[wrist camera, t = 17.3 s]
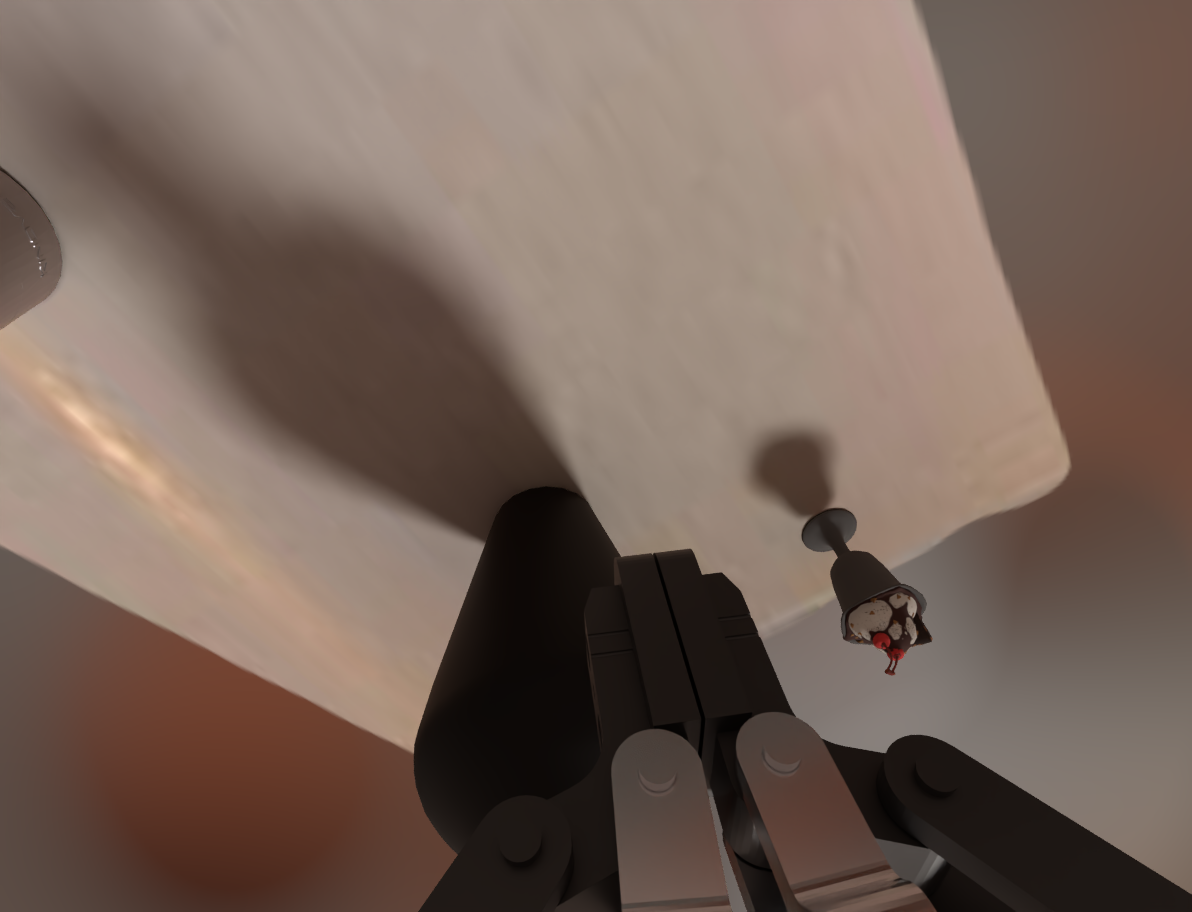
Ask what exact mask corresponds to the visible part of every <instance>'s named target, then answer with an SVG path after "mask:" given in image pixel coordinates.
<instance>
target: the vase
mask: <svg viewBox="0 0 1192 912" xmlns="http://www.w3.org/2000/svg"><path fill="white" fill-rule="evenodd" d="M616 557H621V556H620V554H619V553H618V551H617V549H616V548H615V546H614V545H613V543H612V541H611V540H610V538H609V536H608V535H607V533H606V532H605V530H604V528H603V527H602V525H601V523H600V522H599V520H598V519H597V517H596V515H595V514H594V512H593V510H592V509H591V507H590V505H589V504H588V502H587V501H585V500H584V499H583V498H582V497H580V496H579V495H578V494H576V493H574V492H571V491H568V490H566V489H563V488H555V487H540V488H534V489H529V490H526V491H524V492H522V493H519V494H517V495H515V496H513V497H512V498H511V499H510V500H508V501H507V502H506V503H505V504H504V505H503V506H502V507H501V509H500V510H499V512H498V514H497V515H496V517H495V520H494V522H493V525H492V528H491V530H490V533H489V536H488V538H487V541H486V544H485V547H484V549H483V552H482V555H481V557H480V560H479V563H478V565H477V568H476V571H475V573H474V576H473V579H472V581H471V584H470V587H469V589H468V592H467V595H466V597H465V600H464V603H463V605H462V608H461V611H460V614H459V616H458V619H457V622H456V624H455V627H454V630H453V632H452V635H451V638H450V640H449V643H448V646H447V648H446V651H445V654H444V656H443V659H442V662H441V665H440V667H439V670H438V673H437V675H436V678H435V681H434V683H433V686H432V689H431V692H430V695H429V698H428V702H427V705H426V708H425V711H424V714H423V717H422V720H421V723H420V726H419V729H418V733H417V737H416V741H415V744H414V776H415V783H416V788H417V791H418V794H419V797H420V800H421V803H422V806H423V808H424V811H425V813H426V815H427V817H428V818H429V820H430V821H431V823H432V825H433V826H434V827H435V829H436V830H437V832H438V833H439V835H440V836H441V837H442V838H443V840H444V841H445V842H446V843H447V844H448V845H449V846H450V847H451V848H452V849H453V850H454V851H455V852H456V853H457V854H459V853H460V851H461V850H462V848H463V847H464V846H465V844H466V843H467V841H468V840H469V838H470V837H471V836H472V834H473V833H474V831H475V830H476V828H477V827H478V826H479V824H480V823H481V821H482V820H483V819H484V817H485V816H486V815H487V814H488V813H489V812H490V811H491V810H492V809H493V808H494V807H495V806H497V805H498V804H500V803H501V802H503V801H505V800H507V799H510V798H513V797H517V796H524V795H530V796H537V797H541V798H544V799H546V800H548V799H550V798H552V797H554V796H556V795H558V794H560V793H561V792H563V791H565V790H567V789H569V788H571V787H573V786H574V785H576V784H577V783H579V782H580V781H582V780H583V779H584V778H585V777H586V776H587V775H588V774H589V773H590V772H591V771H592V769H593V768H594V766H595V765H596V763H597V761H598V759H599V756H600V753H601V750H600V744H599V737H598V730H597V723H596V716H595V709H594V703H593V696H592V688H591V682H590V675H589V669H588V662H587V648H586V633H585V618H584V609H585V606H586V603H587V600H588V598H589V595H590V592H591V589H592V588H598V587H606V586H614V558H616Z"/></svg>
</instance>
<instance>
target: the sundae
mask: <svg viewBox="0 0 1192 912" xmlns="http://www.w3.org/2000/svg"><path fill="white" fill-rule="evenodd" d="M856 526H857V521H856V519H855V517H854V515H853V514H851V513H850V512H848V511H845V510H830V511H826V512H824V513H821V514H819V515H818V516H816V517H815V518H813V519H812V520H811V521H810V522H809V523H808V524H807V526H806V527H805V529H804V531H803V536H802V537H803V542H804V544H805V546H806V547H807V548H809V549H811V550H813V551H817V552H826V551H831V550H834V551H835V553H836V555H837V557H838V558H837V559H836V561H835V562H834V564H833V566H832V568H831V571H830V575H831V580H832V584H833V588H834V591H835V593H836V596H837V598H838V601H839V603H840V606H841V609H842V612H843V614H842V618H841V630H842V634H843V639H844V640H846V641H848V642H850V643H854V644H868V645H872V646H874V647H875V648H876V649H878V650H879V651H881V652H883V653H885V654H887V655H888V657H889V658H890V659H891V661H890V664H889V666H888V668H887V669H886V670H885V673H886V674H889V675H895V673H894V670H895V668H896V665H897V662H898V660H900V659H902V658H903V656H904V654H905V653H906V652H907V650H909V649H910V648H911V647H913V646H916V645H922V644H925V643H929V642H932V637H931V635H930V633H929V632H928V630H927V628H926V627H925V625H924V623H923V622H922V616H921V615H922V614H923V613H924V611H925V609H926V605H927V603H926V600H925V599H924V597H923V595H922V594H921V593H919V592H918V591H917V590H915V589H914V588H912V587H911V586H908V585H905V584H901V583H899V581H898V580H897V579H896V578H895V577H894V576H893V575H892V574H891V573H890V572H889V571H888V569H887V568H886V567H885V566H884V565H883V564H882V563H881V562H879V561H878V560H877V559H876V558H875V557H874V556H873V555H871V554H870V553H868V552H862V551H850V550H849V549H848V547H847V546H846V544H845V543H846V542H848V541H849V540H850V539H851V538H852V536H853V535H854V533H855V531H856ZM893 660H895V666H894V668H893V669H892V671H891V670H890V667H891V664H892V661H893Z"/></svg>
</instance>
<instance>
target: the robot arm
mask: <svg viewBox="0 0 1192 912" xmlns="http://www.w3.org/2000/svg"><path fill="white" fill-rule="evenodd" d="M61 268H62V256H61V250H60V244H59V242H58V239H57V236H56V234H55V231H54V229H53V227H52V225H51V223H50V222H49V220H48V218H47V217H46V215H45V214H44V212H43V210H42V209H41V208H40V207H39V205H38V204H37V203H36V202H35V201H34V200H33V198H32V197H31V196H30V195H29V194H28V193H27V192H26V191H25V190H24V189H23V188H22V187H21V186H20V185H18V184H17V183H16V182H15V181H14V180H13V179H11V178H10V177H9V176H8V175H6V174H5V173H3V172H2V171H0V330H1V329H2V328H4V327H5V326H7V325H8V324H10V323H11V322H13V321H14V320H16V319H17V318H19V317H20V316H21V315H23V314H24V313H26V312H27V311H29V310H30V309H32V308H33V307H35V306H36V305H38V304H39V303H41V302H42V301H43V300H45V299H46V298H47V297H48V296H49V295H50V294H51V293H52V291H53V290H54V289H55V288H56V285H57V283H58V281H59V279H60V276H61ZM584 618H585V633H586V648H587V662H588V669H589V675H590V682H591V688H592V696H593V703H594V709H595V716H596V723H597V730H598V737H599V744H600V750H601V753H600V756H599V759H598V761H597V763H596V765H595V766H594V768H593V769H592V771H591V772H590V773H589V774H588V775H587V776H586V777H585V778H584V779H583V780H582V781H580V782H579V783H577V784H576V785H574V786H573V787H571V788H569V789H567V790H565V791H563V792H561V793H560V794H558V795H556V796H554V797H552V798H550V799H548V800H546V799H544V798H541V797H537V796H530V795H524V796H517V797H513V798H510V799H507V800H505V801H503V802H501V803H500V804H498V805H497V806H495V807H494V808H493V809H492V810H491V811H490V812H489V813H488V814H487V815H486V816H485V817H484V819H483V820H482V821H481V823H480V824H479V826H478V827H477V828H476V830H475V831H474V833H473V834H472V836H471V837H470V838H469V840H468V841H467V843H466V844H465V846H464V847H463V848H462V850H461V851H460V853H459V854H458V856H457V857H456V859H455V860H454V861H453V863H452V864H451V866H450V867H449V869H448V870H447V871H446V873H445V874H444V876H443V877H442V879H441V880H440V881H439V883H438V884H437V886H436V887H435V889H434V890H433V891H432V893H431V894H430V896H429V897H428V899H427V900H426V902H425V903H424V904H423V906H422V907H421V909H420V910H419V911H418V912H732V908H731V905H730V901H729V896H728V891H727V886H726V881H725V876H724V871H723V866H722V861H721V856H720V851H719V846H718V841H717V835H716V830H715V825H714V820H713V815H712V810H711V805H710V800H709V797H714V800H715V804H716V807H717V811H718V815H719V818H720V822H721V825H722V829H723V833H722V835H723V842H724V846H725V849H726V852H727V855H728V858H729V861H730V864H731V867H732V870H733V872H734V875H735V878H736V881H737V884H738V887H739V890H740V892H741V895H742V898H743V901H744V904H745V907H746V910H747V912H1192V894H1190V893H1188V892H1187V891H1185V890H1183V889H1182V888H1180V887H1179V886H1177V885H1175V884H1174V883H1172V882H1171V881H1169V880H1167V879H1166V878H1164V877H1163V876H1161V875H1159V874H1158V873H1156V872H1155V871H1153V870H1151V869H1150V868H1148V867H1147V866H1145V865H1143V864H1142V863H1140V862H1139V861H1137V860H1135V859H1134V858H1132V857H1130V856H1129V855H1127V854H1126V853H1124V852H1122V851H1121V850H1119V849H1118V848H1116V847H1114V846H1113V845H1111V844H1110V843H1108V842H1106V841H1104V840H1103V839H1101V838H1100V837H1098V836H1097V835H1095V834H1093V833H1092V832H1090V831H1089V830H1087V829H1085V828H1084V827H1082V826H1081V825H1079V824H1077V823H1076V822H1074V821H1072V820H1071V819H1069V818H1068V817H1066V816H1064V815H1063V814H1061V813H1059V812H1058V811H1056V810H1055V809H1053V808H1051V807H1050V806H1048V805H1047V804H1045V803H1043V802H1042V801H1040V800H1039V799H1037V798H1035V797H1034V796H1032V795H1031V794H1029V793H1027V792H1026V791H1024V790H1022V789H1021V788H1019V787H1018V786H1016V785H1015V784H1013V783H1011V782H1010V781H1008V780H1006V779H1005V778H1003V777H1002V776H1000V775H998V774H997V773H995V772H994V771H992V770H990V769H989V768H987V767H986V766H984V765H982V764H981V763H979V762H978V761H976V760H974V759H973V758H971V757H969V756H968V755H966V754H965V753H963V752H961V751H960V750H958V749H957V748H955V747H953V746H951V745H950V744H948V743H946V742H944V741H942V740H939V739H937V738H933V737H930V736H924V735H909V736H905V737H902V738H900V739H897V740H896V741H895V742H894V743H892V744H891V745H890V747H889V748H888V750H887V752H886V753H880V752H874V751H868V750H863V749H857V748H851V747H845V746H841V745H837V744H834V743H831V742H828V741H826V740H824V739H822V738H821V737H820V736H819V735H818V734H817V732H816V731H815V730H814V729H813V728H812V727H811V726H809V725H808V724H807V723H805V722H804V721H802V720H801V719H799V718H797V717H796V716H795V715H794V713H793V712H792V710H791V708H790V706H789V704H788V701H787V699H786V697H785V694H784V692H783V690H782V687H781V685H780V683H779V680H778V678H777V675H776V673H775V671H774V668H773V666H772V664H771V661H770V659H769V657H768V654H767V652H766V650H765V647H764V645H763V642H762V640H761V638H760V637H759V635H758V631H757V628H756V626H755V624H754V621H753V619H752V618H751V616H750V612H749V609H748V607H747V605H746V602H745V600H744V598H743V595H742V593H741V591H740V590H739V589H738V588H737V587H736V586H735V585H734V584H733V583H732V582H731V581H730V580H729V579H728V578H727V577H726V576H725V575H724V574H723V573H722V572H721V573H713V574H705V575H702V574H701V571H700V568H699V566H698V563H697V560H696V557H695V555H694V553H693V551H692V550H691V549H684V550H676V551H667V552H659V553H654V554H653V555H652V554H651V553H649V554H641V555H633V556H624V557H616V558H614V586H606V587H598V588H592V589H591V592H590V595H589V598H588V600H587V603H586V606H585V609H584Z"/></svg>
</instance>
